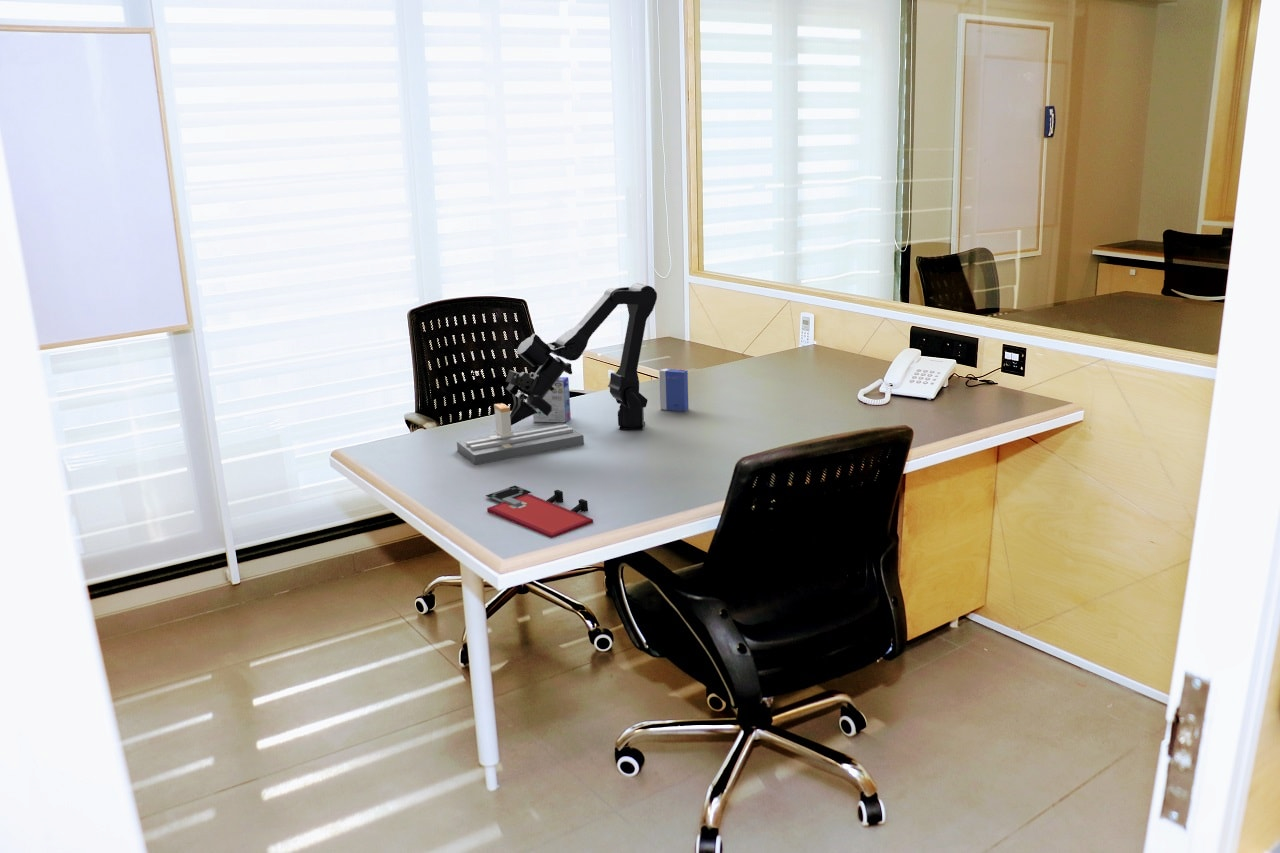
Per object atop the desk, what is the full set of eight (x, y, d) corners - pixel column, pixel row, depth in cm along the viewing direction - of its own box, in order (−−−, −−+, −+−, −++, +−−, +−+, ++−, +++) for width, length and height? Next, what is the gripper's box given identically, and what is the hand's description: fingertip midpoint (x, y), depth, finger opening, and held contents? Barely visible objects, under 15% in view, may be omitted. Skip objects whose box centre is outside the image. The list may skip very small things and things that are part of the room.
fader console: (562, 431, 285) (561, 420, 284) (583, 444, 273) (583, 432, 272) (457, 450, 272) (456, 438, 271) (475, 464, 260) (474, 452, 259)
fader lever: (506, 436, 273) (503, 402, 270) (513, 442, 268) (511, 407, 266) (495, 438, 272) (492, 404, 269) (502, 444, 267) (500, 409, 264)
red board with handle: (521, 487, 243) (468, 505, 233) (520, 475, 242) (467, 493, 233) (606, 520, 222) (552, 541, 212) (606, 507, 221) (551, 529, 212)
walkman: (688, 409, 302) (687, 369, 299) (684, 411, 300) (683, 371, 297) (664, 407, 306) (662, 367, 302) (660, 409, 303) (658, 369, 300)
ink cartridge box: (571, 417, 299) (568, 368, 294) (566, 423, 293) (563, 373, 289) (538, 417, 301) (535, 368, 296) (533, 422, 295) (529, 372, 291)
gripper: (510, 352, 275) (474, 398, 273) (537, 365, 259) (498, 414, 257) (540, 377, 281) (504, 422, 279) (568, 391, 265) (530, 439, 263)
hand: (508, 424), depth 270 cm, fingers closed, pressing on fader lever
